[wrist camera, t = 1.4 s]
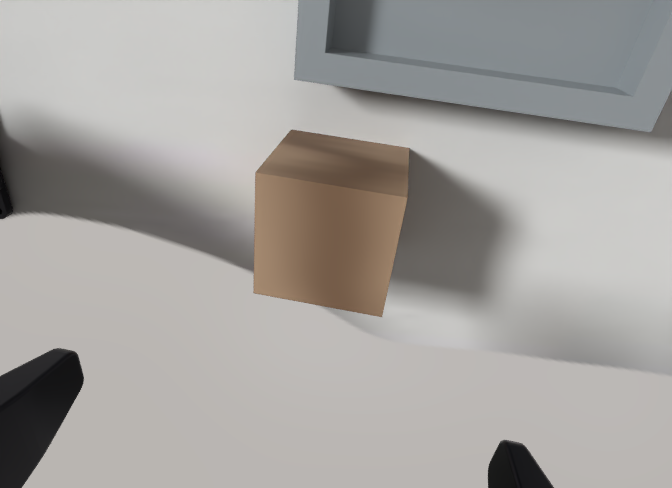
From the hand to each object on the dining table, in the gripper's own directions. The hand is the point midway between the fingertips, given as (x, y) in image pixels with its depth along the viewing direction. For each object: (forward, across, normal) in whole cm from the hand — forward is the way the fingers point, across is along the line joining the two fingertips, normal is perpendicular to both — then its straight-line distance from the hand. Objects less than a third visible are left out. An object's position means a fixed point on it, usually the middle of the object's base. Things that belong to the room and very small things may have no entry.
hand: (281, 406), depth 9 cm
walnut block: (+12, 0, 0) cm, 12 cm away
